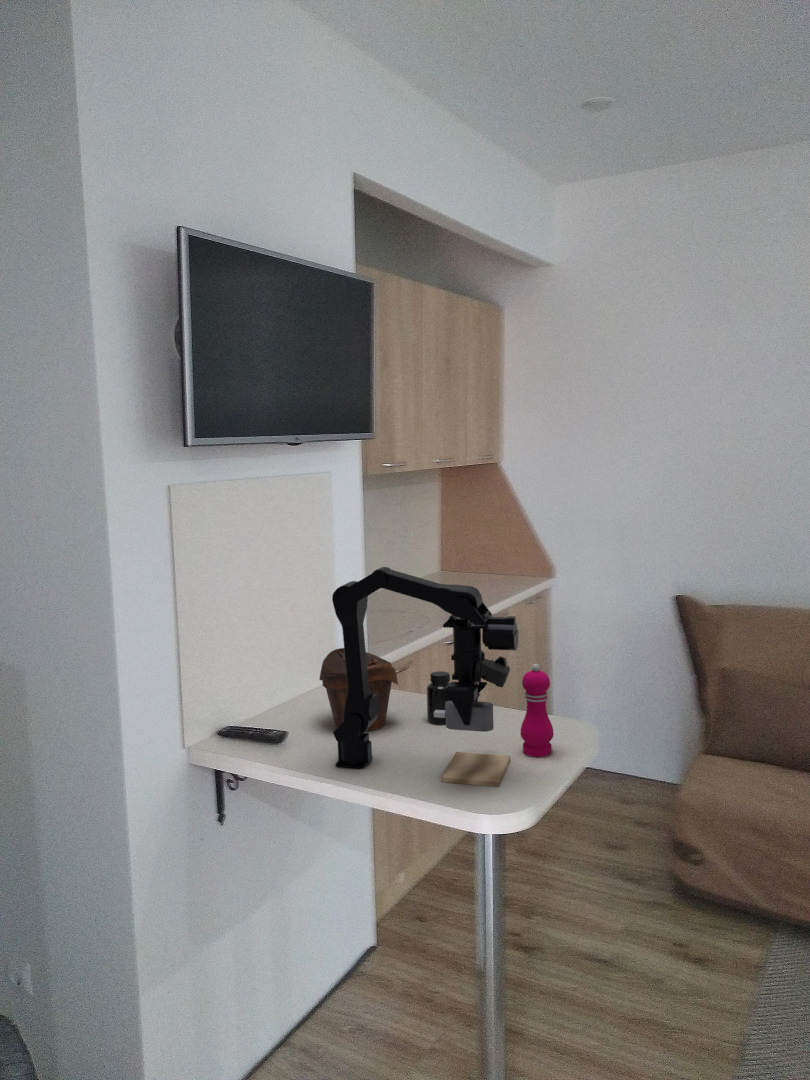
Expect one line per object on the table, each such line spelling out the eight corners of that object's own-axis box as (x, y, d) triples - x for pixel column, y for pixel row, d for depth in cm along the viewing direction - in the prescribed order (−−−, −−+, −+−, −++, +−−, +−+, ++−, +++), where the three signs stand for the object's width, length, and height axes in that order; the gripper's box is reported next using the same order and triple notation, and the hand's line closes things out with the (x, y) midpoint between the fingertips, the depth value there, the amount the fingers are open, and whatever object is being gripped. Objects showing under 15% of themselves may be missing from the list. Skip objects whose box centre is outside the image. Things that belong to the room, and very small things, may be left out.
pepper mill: (560, 751, 180) (559, 663, 178) (539, 760, 176) (537, 670, 173) (535, 743, 186) (533, 657, 184) (514, 752, 181) (512, 664, 179)
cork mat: (440, 781, 167) (440, 777, 167) (456, 756, 180) (456, 751, 180) (498, 786, 163) (498, 782, 163) (510, 760, 177) (510, 755, 176)
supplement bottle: (452, 725, 200) (451, 677, 198) (425, 724, 201) (423, 677, 200) (456, 716, 206) (455, 670, 205) (430, 715, 208) (428, 669, 206)
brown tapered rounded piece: (389, 738, 192) (386, 664, 190) (310, 734, 197) (306, 661, 195) (409, 715, 209) (406, 646, 207) (335, 711, 214) (332, 644, 213)
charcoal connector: (432, 728, 170) (432, 704, 170) (437, 721, 174) (436, 699, 173) (491, 732, 167) (491, 708, 166) (495, 725, 170) (494, 702, 170)
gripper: (498, 662, 157) (499, 740, 159) (513, 638, 174) (515, 709, 176) (441, 659, 160) (444, 736, 162) (462, 637, 178) (464, 706, 180)
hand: (469, 721), depth 170 cm, fingers closed on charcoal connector, 4 cm apart
